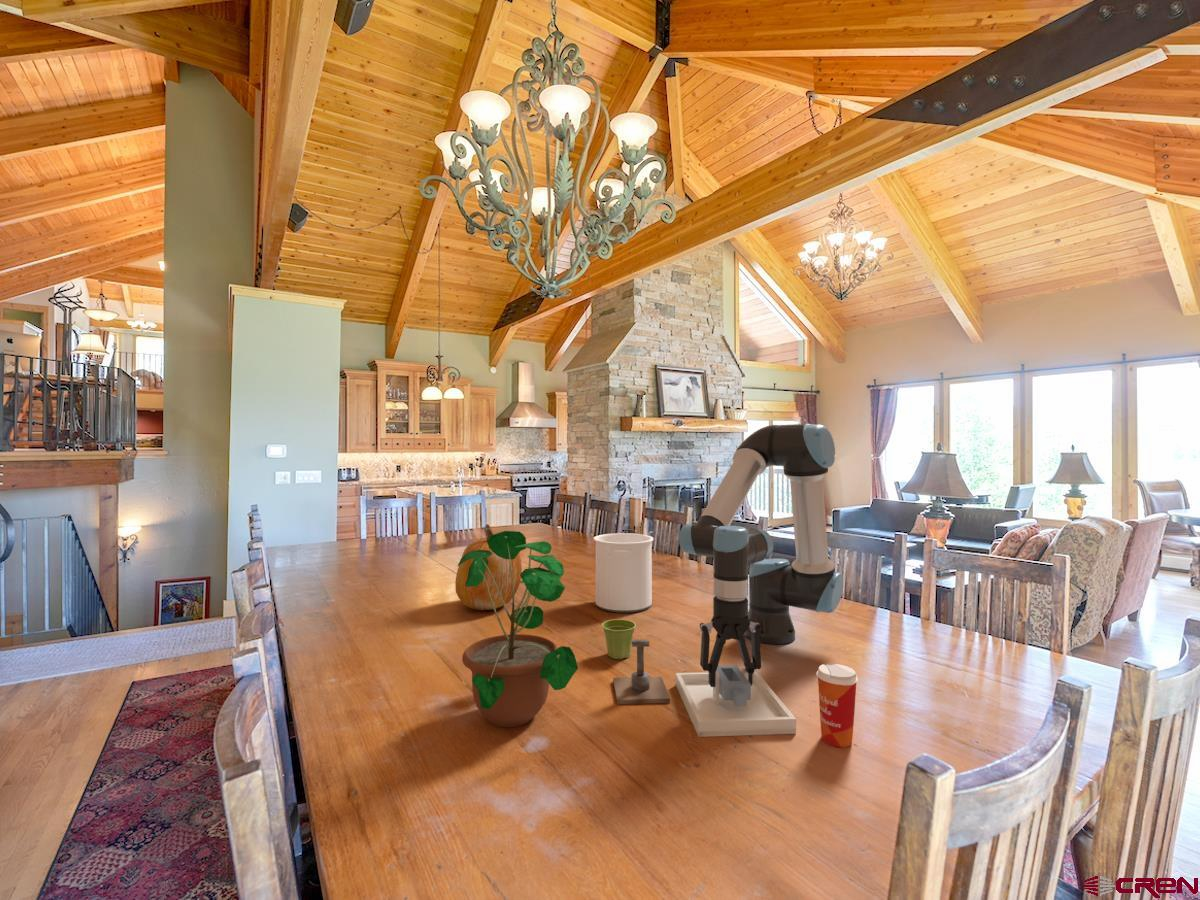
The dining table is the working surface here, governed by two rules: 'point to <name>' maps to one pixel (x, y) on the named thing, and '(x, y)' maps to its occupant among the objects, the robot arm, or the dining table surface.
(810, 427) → the robot arm
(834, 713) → the paper cup
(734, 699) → the grey slotted block
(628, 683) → the lever on base
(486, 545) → the pumpkin
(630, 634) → the plant pot
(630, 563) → the bucket
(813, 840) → the dining table surface
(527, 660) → the potted plant
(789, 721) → the tray
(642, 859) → the dining table surface
